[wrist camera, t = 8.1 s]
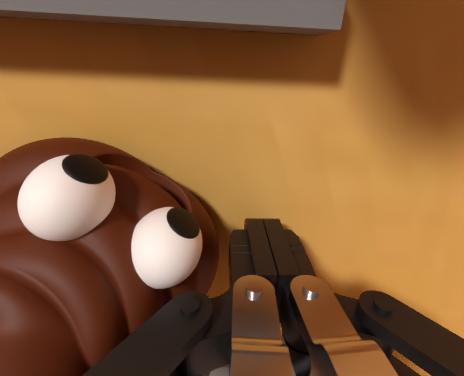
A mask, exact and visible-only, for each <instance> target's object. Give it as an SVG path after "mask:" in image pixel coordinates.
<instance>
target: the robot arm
mask: <svg viewBox="0 0 464 376" xmlns="http://www.w3.org/2000/svg"><path fill="white" fill-rule="evenodd" d="M229 280H230V288H229V290H228V291H227V292H225V293H224V294H222V295H220V296H217V297H214V298H211V299H209V297H208V296H206V295H205V294H203V293H201V292H197V291H187V292H183V293H180V294H178V295H177V296H175V297H174V298H173V299H172V300H170V301H169V302H168V303H167V304H166V305H164V306H163V307H162V308H161V309H160V310H159V311H157V312H156V313H155V314H154V315H153V316H152V317H150V318H149V319H148V320H147V321H146V322H145V323H143V324H142V325H141V326H140V327H139V328H137V329H136V330H135V331H134V332H133V333H132V334H130V335H129V336H128V337H127V338H126V339H125V340H123V341H122V342H121V343H120V344H119V345H118V346H116V347H115V348H114V349H113V350H112V351H110V352H109V353H108V354H107V355H106V356H105V357H103V358H102V359H101V360H100V361H99V362H98V363H96V364H95V365H94V366H93V367H92V368H91V369H89V370H88V371H87V372H86V373H85V374H83V375H82V376H209V375H210V372H211V371H213V370H215V369H218V368H220V367H223V366H225V365H228V364H229V376H420V375H419V374H418V373H416V372H415V371H414V370H412V369H411V368H409V367H408V366H407V365H405V364H404V363H403V362H401V361H400V360H398V359H397V358H396V357H394V356H393V355H392V353H393V351H394V349H395V350H396V351H398V352H399V353H400V354H402V355H403V356H405V357H406V358H408V359H409V360H410V361H412V362H413V363H415V364H416V365H417V366H419V367H420V368H422V369H423V370H424V371H426V372H427V373H429V374H430V375H432V376H464V339H463V338H461V337H459V336H458V335H456V334H454V333H453V332H451V331H449V330H448V329H446V328H444V327H442V326H441V325H439V324H437V323H436V322H434V321H432V320H431V319H429V318H427V317H425V316H424V315H422V314H420V313H419V312H417V311H415V310H414V309H412V308H410V307H408V306H407V305H405V304H403V303H402V302H400V301H398V300H397V299H395V298H393V297H391V296H390V295H388V294H385V293H383V292H379V291H365V292H363V293H362V294H361V295H360V297H359V300H357V299H353V298H349V297H345V296H341V295H338V294H336V293H333V291H332V290H331V288H330V287H329V285H328V284H327V283H326V282H324V281H323V280H322V279H320V278H318V277H317V276H316V274H315V272H314V270H313V268H312V265H311V263H310V261H309V259H308V257H307V254H306V253H305V250H304V248H303V247H302V243H301V241H300V239H299V237H298V236H297V235H296V234H295V233H294V232H293V231H291V230H283V228H282V225H281V222H280V220H279V219H245V224H244V230H234V231H233V232H232V234H231V235H230V244H229ZM280 323H281V328H282V335H281V329H280Z"/></svg>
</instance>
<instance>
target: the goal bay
mask: <svg viewBox="0 0 464 376" xmlns="http://www.w3.org/2000/svg"><path fill="white" fill-rule="evenodd" d="M345 5H346V0H0V17H13V18H31V19H48V20H66V21H83V22H100V23H118V24H135V25H153V26H170V27H188V28H205V29H222V30H240V31H257V32H275V33H292V34H310V35H320V34H325V33H329V32H333V31H338V30H341V26H342V21H343V15H344V10H345ZM209 376H229V364H228V365H225V366H223V367H220V368H218V369H215V370H213V371H211V372H210V375H209Z"/></svg>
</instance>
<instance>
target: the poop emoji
mask: <svg viewBox="0 0 464 376" xmlns="http://www.w3.org/2000/svg"><path fill="white" fill-rule="evenodd" d="M218 260H219V245H218V238H217V234H216V230H215V227H214V225H213V222H212V220H211V218H210V216H209V214H208V213H207V211H206V210H205V208H204V207H203V206H202V204H201V203H200V202H199V201H198V200H197V198H196V197H195V196H194V195H193V194H191V193H190V192H189V191H188V190H187V189H185V188H184V187H183V186H181V185H180V184H179V183H177V182H175V181H174V180H172V179H170V178H168V177H166V176H164V175H162V174H160V173H157V172H155V171H153V170H152V169H150V168H149V167H148V166H147V165H145V164H144V163H143V162H141V161H140V160H138V159H137V158H135V157H134V156H132V155H130V154H128V153H126V152H124V151H122V150H120V149H118V148H115V147H113V146H110V145H107V144H104V143H101V142H97V141H93V140H87V139H80V138H52V139H45V140H40V141H36V142H32V143H29V144H26V145H23V146H21V147H18V148H16V149H14V150H12V151H10V152H9V153H7V154H5V155H4V156H2V157H1V158H0V376H82V375H83V374H85V373H86V372H87V371H88V370H89V369H91V368H92V367H93V366H94V365H95V364H96V363H98V362H99V361H100V360H101V359H102V358H103V357H105V356H106V355H107V354H108V353H109V352H110V351H112V350H113V349H114V348H115V347H116V346H118V345H119V344H120V343H121V342H122V341H123V340H125V339H126V338H127V337H128V336H129V335H130V334H132V333H133V332H134V331H135V330H136V329H137V328H139V327H140V326H141V325H142V324H143V323H145V322H146V321H147V320H148V319H149V318H150V317H152V316H153V315H154V314H155V313H156V312H157V311H159V310H160V309H161V308H162V307H163V306H164V305H166V304H167V303H168V302H169V301H170V300H172V299H173V298H174V297H175V296H177V295H178V294H180V293H183V292H187V291H197V292H201V293H203V294H205V295H206V293H207V292H208V290H209V288H210V286H211V284H212V282H213V280H214V277H215V274H216V271H217V267H218Z"/></svg>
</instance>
